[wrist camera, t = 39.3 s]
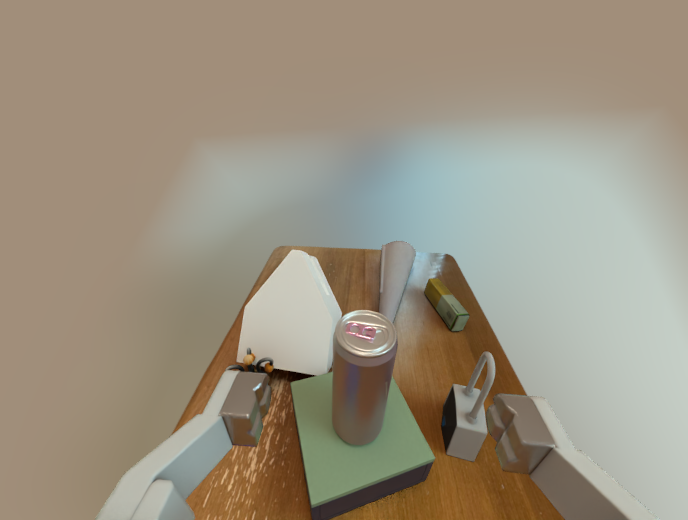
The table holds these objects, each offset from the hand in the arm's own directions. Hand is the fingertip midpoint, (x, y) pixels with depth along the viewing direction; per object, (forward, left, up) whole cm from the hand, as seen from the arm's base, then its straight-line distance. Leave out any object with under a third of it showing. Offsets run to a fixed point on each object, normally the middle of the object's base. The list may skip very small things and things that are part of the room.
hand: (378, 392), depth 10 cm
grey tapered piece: (-13, +42, -30) cm, 53 cm away
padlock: (+5, +20, -30) cm, 36 cm away
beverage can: (-6, +11, -24) cm, 27 cm away
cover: (-6, +11, -25) cm, 28 cm away
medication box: (-3, +43, -30) cm, 53 cm away
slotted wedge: (-23, +21, -30) cm, 44 cm away
